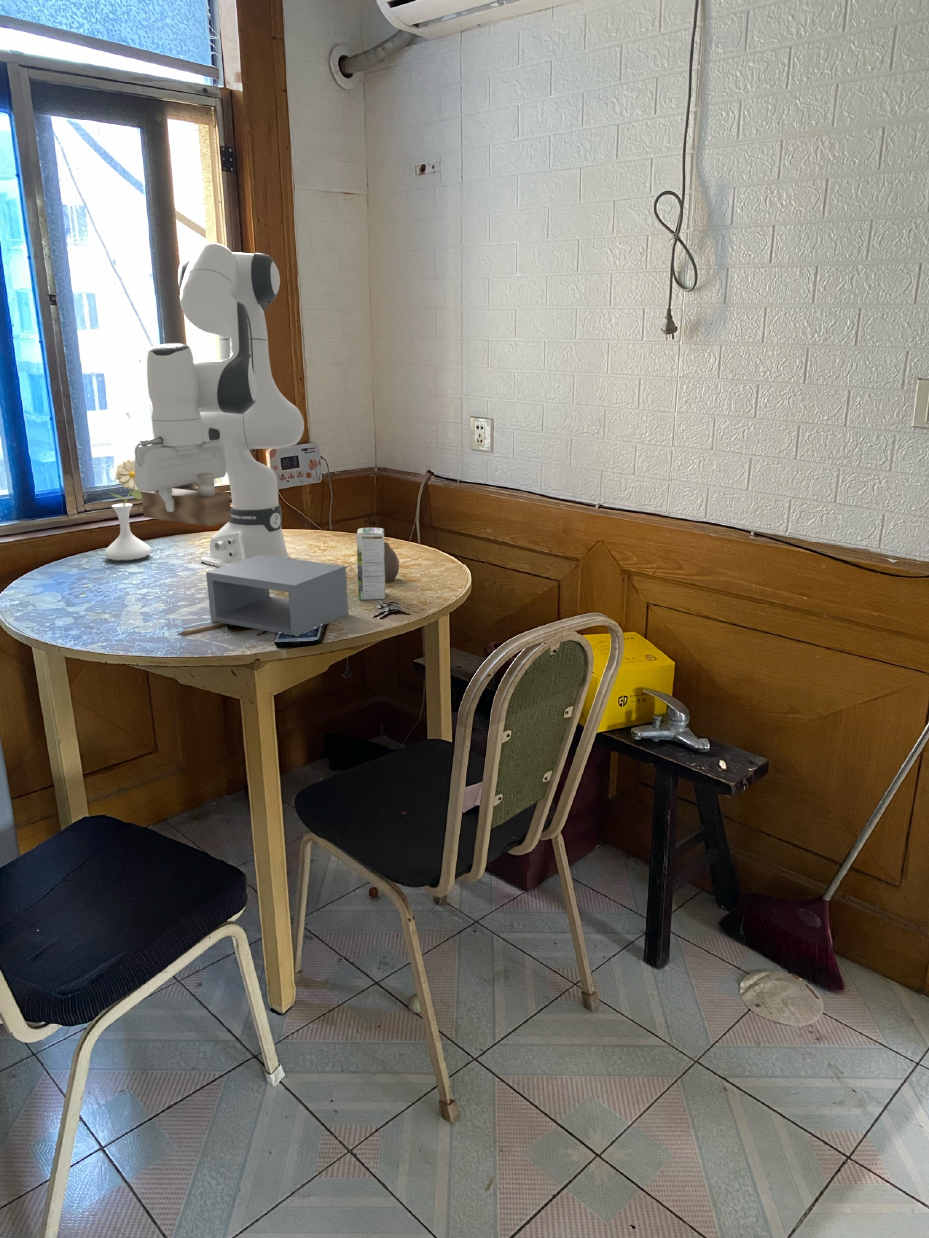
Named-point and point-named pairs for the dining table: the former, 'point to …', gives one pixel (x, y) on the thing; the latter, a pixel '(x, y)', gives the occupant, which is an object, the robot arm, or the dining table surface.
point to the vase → (390, 563)
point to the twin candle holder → (191, 504)
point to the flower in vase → (126, 519)
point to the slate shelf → (247, 583)
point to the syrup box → (371, 563)
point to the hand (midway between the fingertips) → (186, 507)
